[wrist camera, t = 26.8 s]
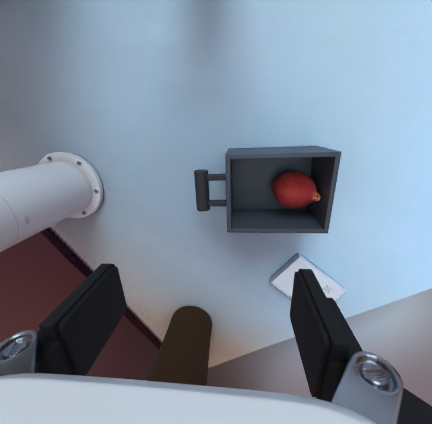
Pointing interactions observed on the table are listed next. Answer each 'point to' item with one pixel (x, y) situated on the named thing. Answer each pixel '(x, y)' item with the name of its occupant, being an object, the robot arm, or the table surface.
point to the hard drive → (286, 274)
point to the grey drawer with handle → (263, 193)
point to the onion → (295, 189)
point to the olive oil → (184, 349)
